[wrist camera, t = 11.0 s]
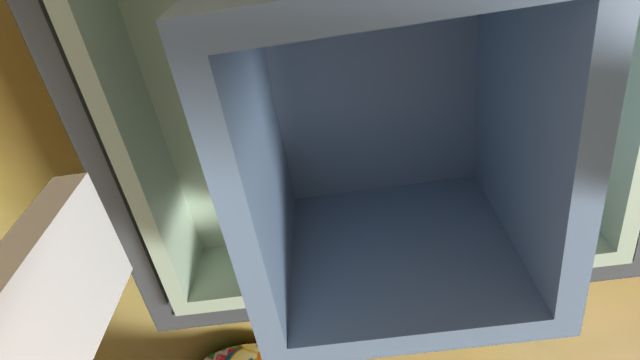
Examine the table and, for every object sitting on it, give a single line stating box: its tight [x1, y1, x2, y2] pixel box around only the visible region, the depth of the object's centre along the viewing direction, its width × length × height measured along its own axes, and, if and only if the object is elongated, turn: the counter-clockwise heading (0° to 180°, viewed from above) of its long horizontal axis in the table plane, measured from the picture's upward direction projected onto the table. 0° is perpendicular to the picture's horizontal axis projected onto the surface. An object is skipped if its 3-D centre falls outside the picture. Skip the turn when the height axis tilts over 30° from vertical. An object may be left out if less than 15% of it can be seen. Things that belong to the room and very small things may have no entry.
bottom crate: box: [6, 0, 640, 332], centre depth 16 cm, size 16×19×4 cm
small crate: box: [156, 0, 640, 360], centre depth 14 cm, size 9×8×8 cm
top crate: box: [43, 0, 640, 316], centre depth 16 cm, size 13×16×4 cm
